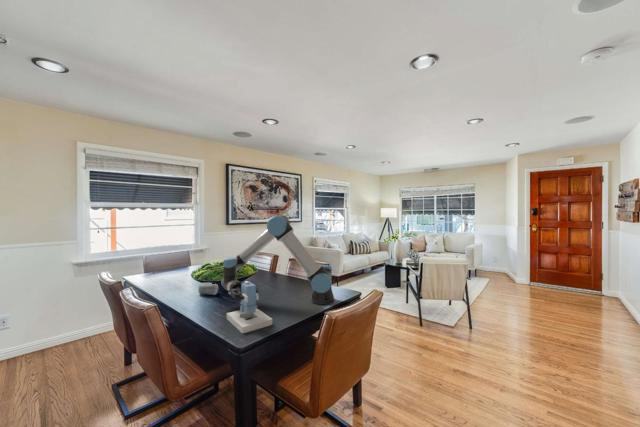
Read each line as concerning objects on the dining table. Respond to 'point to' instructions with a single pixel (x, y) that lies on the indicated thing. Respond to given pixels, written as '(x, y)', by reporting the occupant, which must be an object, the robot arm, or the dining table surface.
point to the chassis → (252, 324)
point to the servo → (249, 291)
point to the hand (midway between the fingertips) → (252, 298)
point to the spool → (208, 288)
